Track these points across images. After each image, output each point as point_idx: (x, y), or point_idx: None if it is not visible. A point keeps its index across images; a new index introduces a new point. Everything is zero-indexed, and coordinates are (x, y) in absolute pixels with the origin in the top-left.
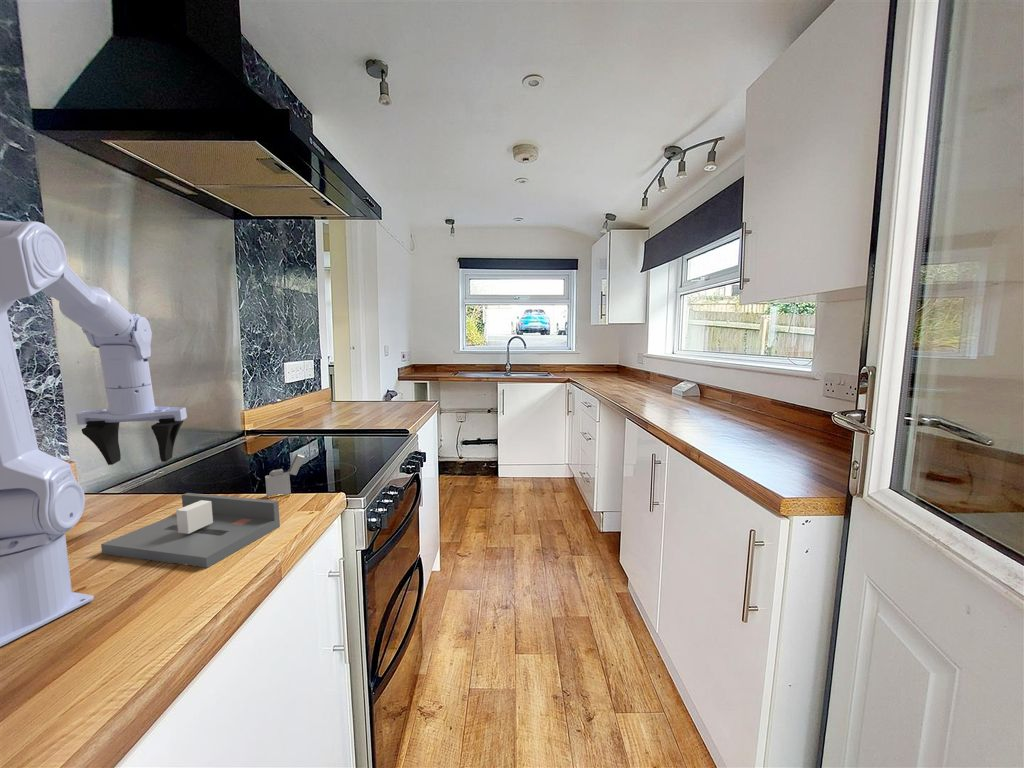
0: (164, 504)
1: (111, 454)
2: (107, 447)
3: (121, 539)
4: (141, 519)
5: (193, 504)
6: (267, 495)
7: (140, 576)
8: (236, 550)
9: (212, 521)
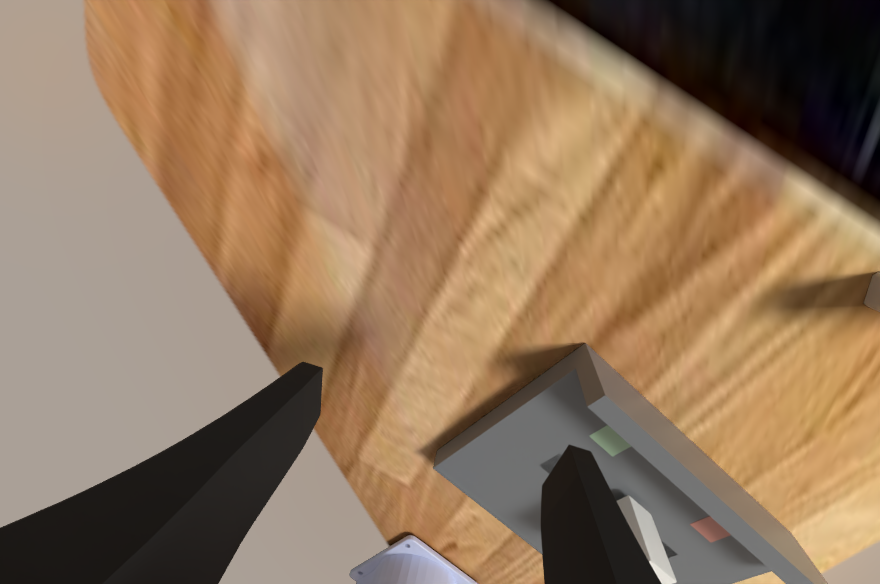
0: (496, 153)
1: (285, 460)
2: (245, 522)
3: (464, 468)
4: (457, 282)
5: None
6: (877, 309)
7: (522, 559)
8: None
9: (651, 518)
